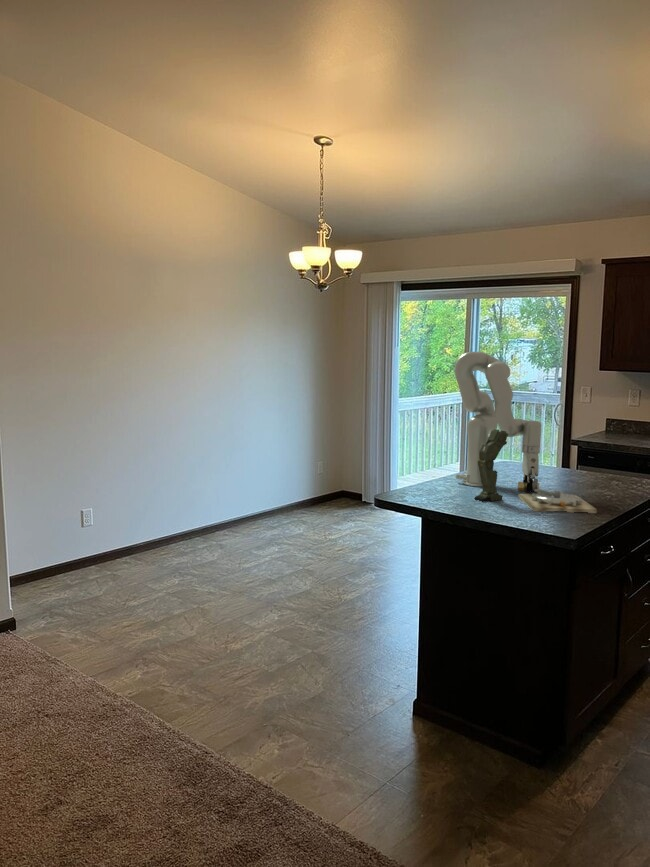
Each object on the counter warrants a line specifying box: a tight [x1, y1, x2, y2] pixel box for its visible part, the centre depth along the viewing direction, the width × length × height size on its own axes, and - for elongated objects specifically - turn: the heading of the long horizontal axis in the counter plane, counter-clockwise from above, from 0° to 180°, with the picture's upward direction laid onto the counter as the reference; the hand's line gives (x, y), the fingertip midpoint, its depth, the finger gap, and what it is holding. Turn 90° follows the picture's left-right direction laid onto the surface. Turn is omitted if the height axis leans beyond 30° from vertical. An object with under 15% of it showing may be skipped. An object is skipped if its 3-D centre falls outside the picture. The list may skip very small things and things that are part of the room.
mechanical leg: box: [473, 429, 509, 503], centre depth 277 cm, size 14×7×30 cm, turn 118°
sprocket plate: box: [518, 493, 598, 514], centre depth 271 cm, size 24×24×2 cm
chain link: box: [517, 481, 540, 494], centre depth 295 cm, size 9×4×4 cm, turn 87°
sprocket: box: [531, 477, 582, 506], centre depth 271 cm, size 19×21×6 cm
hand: (528, 490), depth 295 cm, fingers open, 5 cm apart
